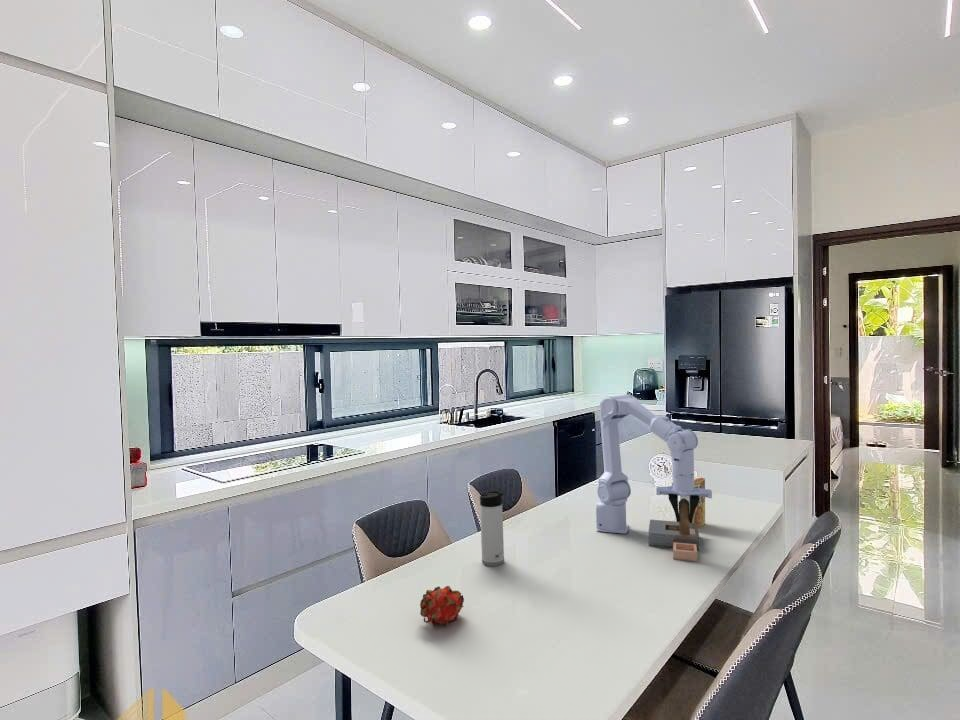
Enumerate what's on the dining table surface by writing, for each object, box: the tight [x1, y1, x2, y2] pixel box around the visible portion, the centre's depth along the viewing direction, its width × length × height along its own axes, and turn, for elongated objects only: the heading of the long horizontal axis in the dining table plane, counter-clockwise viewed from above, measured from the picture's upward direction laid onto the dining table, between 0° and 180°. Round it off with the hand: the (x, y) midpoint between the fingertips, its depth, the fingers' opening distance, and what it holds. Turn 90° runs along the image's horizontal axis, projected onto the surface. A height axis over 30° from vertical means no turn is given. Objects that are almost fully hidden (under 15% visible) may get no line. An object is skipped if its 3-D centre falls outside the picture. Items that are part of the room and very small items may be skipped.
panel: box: [648, 519, 701, 552], centre depth 162 cm, size 14×12×4 cm
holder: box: [672, 542, 698, 563], centre depth 150 cm, size 6×6×2 cm
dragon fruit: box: [419, 585, 465, 627], centre depth 120 cm, size 8×8×12 cm
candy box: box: [679, 475, 706, 528], centre depth 174 cm, size 9×4×15 cm, turn 129°
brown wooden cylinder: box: [678, 499, 690, 536], centre depth 150 cm, size 3×3×10 cm
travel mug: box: [479, 490, 505, 567], centre depth 151 cm, size 6×7×20 cm
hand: (684, 521), depth 150 cm, fingers closed on brown wooden cylinder, 3 cm apart
